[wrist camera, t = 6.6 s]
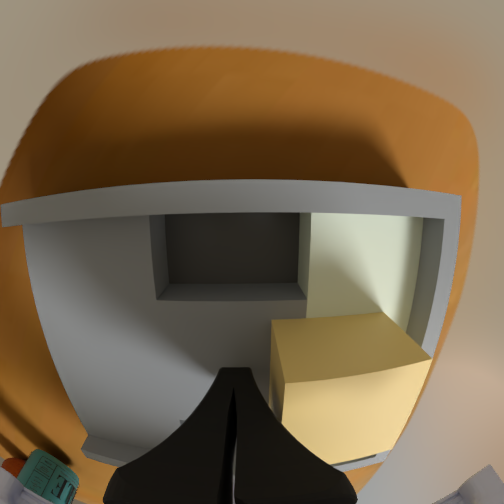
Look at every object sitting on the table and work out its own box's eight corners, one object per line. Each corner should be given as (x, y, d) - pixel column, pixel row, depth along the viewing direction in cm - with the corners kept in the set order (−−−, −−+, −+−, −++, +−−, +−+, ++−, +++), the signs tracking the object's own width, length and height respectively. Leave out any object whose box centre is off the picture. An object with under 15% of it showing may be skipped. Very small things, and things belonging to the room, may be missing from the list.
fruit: (4, 439, 18) (-17, 470, 10) (48, 469, 18) (29, 506, 11) (21, 466, 19) (5, 493, 12) (63, 491, 20) (49, 523, 12)
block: (363, 395, 12) (391, 449, 8) (268, 407, 12) (276, 471, 8) (383, 311, 11) (432, 358, 7) (271, 319, 11) (285, 383, 7)
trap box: (365, 422, 16) (384, 460, 12) (104, 421, 15) (86, 457, 11) (410, 192, 12) (461, 195, 8) (50, 198, 12) (0, 204, 8)
